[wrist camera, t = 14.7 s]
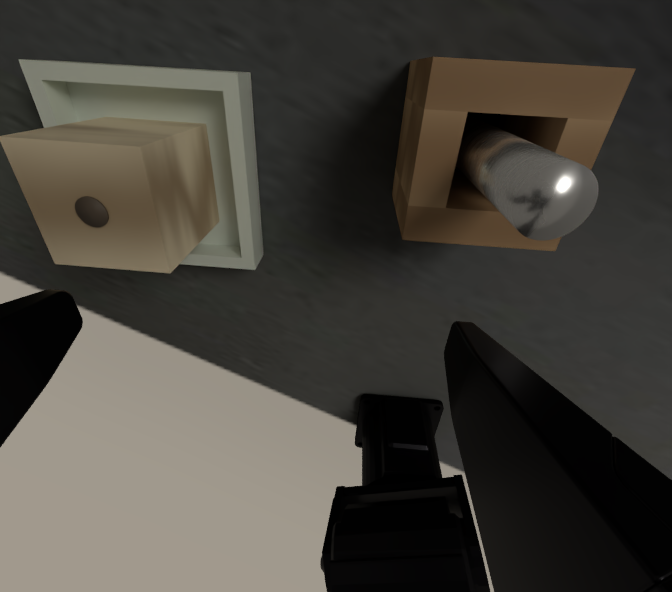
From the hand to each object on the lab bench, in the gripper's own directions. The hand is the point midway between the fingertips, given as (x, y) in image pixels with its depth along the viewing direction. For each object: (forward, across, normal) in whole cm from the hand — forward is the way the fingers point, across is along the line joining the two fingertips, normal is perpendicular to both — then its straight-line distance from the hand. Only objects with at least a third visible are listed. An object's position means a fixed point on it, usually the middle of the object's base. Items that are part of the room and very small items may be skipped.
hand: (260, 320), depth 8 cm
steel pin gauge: (+12, -7, -2) cm, 15 cm away
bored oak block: (+12, -7, -2) cm, 15 cm away
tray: (+12, +8, 0) cm, 15 cm away
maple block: (+12, +8, 0) cm, 14 cm away
